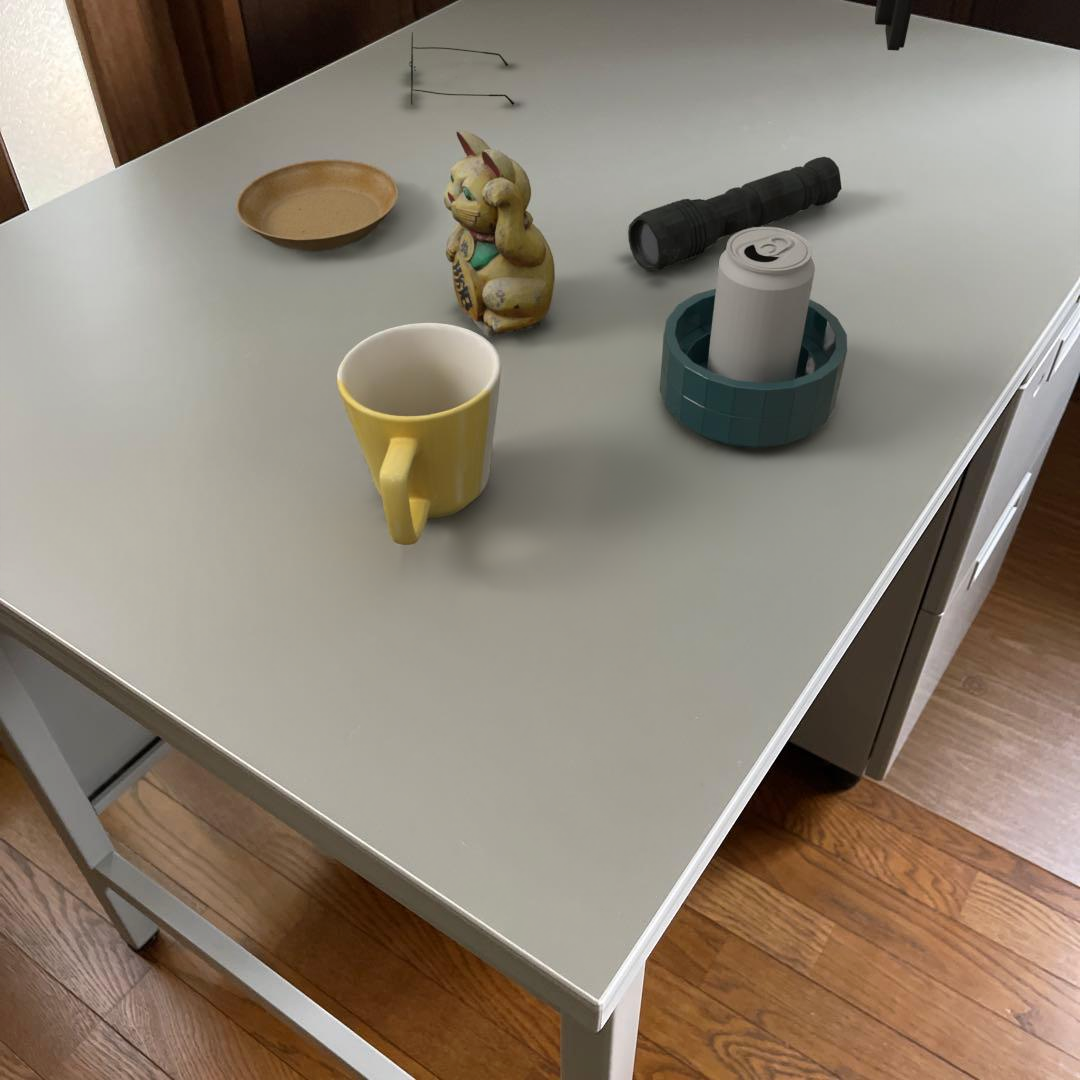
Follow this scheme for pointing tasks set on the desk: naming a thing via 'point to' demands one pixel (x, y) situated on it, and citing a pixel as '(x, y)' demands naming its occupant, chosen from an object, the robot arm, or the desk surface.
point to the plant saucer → (317, 203)
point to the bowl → (749, 406)
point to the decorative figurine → (496, 242)
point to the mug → (423, 418)
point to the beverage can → (761, 305)
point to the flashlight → (729, 213)
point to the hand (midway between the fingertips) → (996, 44)
